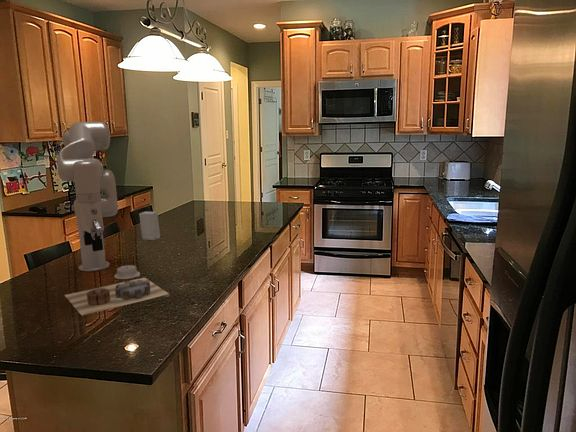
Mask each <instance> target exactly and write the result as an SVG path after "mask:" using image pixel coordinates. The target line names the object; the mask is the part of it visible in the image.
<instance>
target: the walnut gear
mask: <svg viewBox="0 0 576 432" xmlns="http://www.w3.org/2000/svg"><path fill="white" fill-rule="evenodd" d="M93 289H94V288H93ZM87 301H88V304H89V305H96V306H97V305H102V304H105V303H108V302H109V301H110V292H109V290H108V289H104V288H101V293H99V294H95V289H94V290H92V291H89V292H87Z"/></svg>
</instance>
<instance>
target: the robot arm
mask: <svg viewBox="0 0 576 432" xmlns="http://www.w3.org/2000/svg"><path fill="white" fill-rule="evenodd" d="M110 131H111V130H110V128H109V126H108V124H106V123H105V122H103V121H77V122H74V123H72V124H71V125H70V126H69V129H68V130H67V131H66V130H65V131H64V132H63V133H62V135H61V136H62V143H63V145H64V147H63V148H62V149H61V150H60V151H59V152H58V154H57V159H56V160H57V161H56V162H57V164H56V165H57V174H58V175H57V176H58V178H60V180H61V181H63V182H74V187H75V188H74V189H75V190H74V191H75V200H74V201H73V210H74V215H75V219H76V222H77V229H78V239H79V246H80V255H81V258H80V259H81V264H80V265H78V270H79V271H81V272H96V271H102V270H105V269H107V268H109V267H110V264H111V263H110V262H109V261H107V260H106V251H105V241H104V231H105V227H104V220H103V219H104V218H108V217H114V216H116V215H117V214H118V211H119V205H118V203H119V202H118V195H117V184H116V178H115V175H114V173H113V171H111V170H110V169H104V165H103V163H102V162H101V161H100V159H98V158H94V156H93V155H94V154H95V152H96V151H106V150H107V149H109V148H110V143H111V132H110ZM101 193H104V194H101Z"/></svg>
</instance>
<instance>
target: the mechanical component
mask: <svg viewBox="0 0 576 432" xmlns="http://www.w3.org/2000/svg"><path fill="white" fill-rule="evenodd" d="M137 268H138V267H137V265H132V264H131V265H129V264H128V265H122V266H119V267H117V269H116V270H117V271H116V272H117V273H116V274H115V275H114V278H115V279H117V280H118V279H119V280H126V279H134V278H137V279H140V277H141V273H140V271H138V269H137Z"/></svg>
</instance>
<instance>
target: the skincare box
mask: <svg viewBox="0 0 576 432" xmlns="http://www.w3.org/2000/svg"><path fill="white" fill-rule="evenodd" d="M138 215H139V222H140V229H141V230H140V231H141V232H140V233H141V238H142V239H141V240H145V241H146V240H148V241H149V240H150V241H155V240H159V239H161V232H160V225H159V224H160V223H159V216H158V211H147V210H146V211H142V212H140V213H139V214H138Z"/></svg>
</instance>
